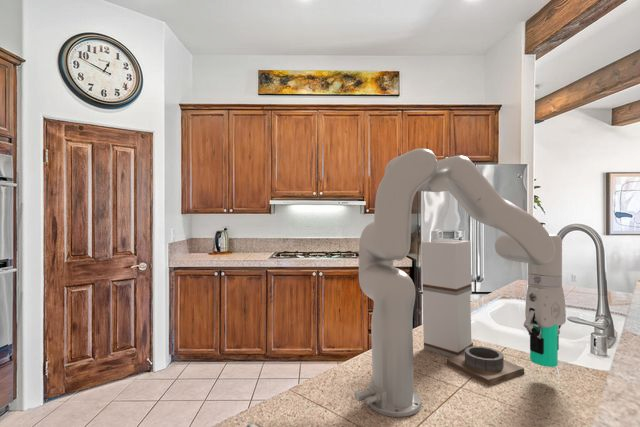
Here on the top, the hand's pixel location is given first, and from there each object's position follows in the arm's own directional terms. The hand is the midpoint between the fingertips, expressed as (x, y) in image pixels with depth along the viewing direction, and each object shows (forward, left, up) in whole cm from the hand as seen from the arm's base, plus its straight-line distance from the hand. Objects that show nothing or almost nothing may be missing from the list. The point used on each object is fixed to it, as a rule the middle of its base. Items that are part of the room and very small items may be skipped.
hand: (544, 349), depth 88 cm
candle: (0, 0, -3) cm, 3 cm away
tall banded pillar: (-6, +27, -8) cm, 29 cm away
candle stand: (-8, +12, -8) cm, 16 cm away
